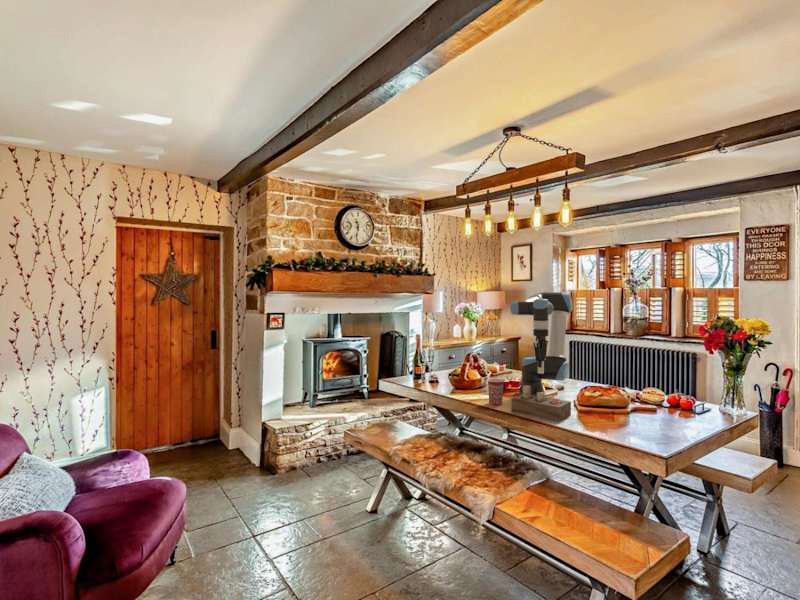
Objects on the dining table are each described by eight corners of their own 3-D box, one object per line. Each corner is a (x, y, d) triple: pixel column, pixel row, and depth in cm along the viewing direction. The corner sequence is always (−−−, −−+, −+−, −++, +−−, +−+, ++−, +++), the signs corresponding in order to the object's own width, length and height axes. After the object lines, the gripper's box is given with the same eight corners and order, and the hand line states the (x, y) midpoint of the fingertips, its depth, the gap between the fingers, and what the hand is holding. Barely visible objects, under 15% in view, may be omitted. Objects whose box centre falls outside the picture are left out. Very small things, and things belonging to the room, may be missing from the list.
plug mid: (538, 407, 235) (538, 391, 235) (546, 408, 232) (546, 392, 232) (535, 409, 232) (535, 393, 232) (542, 410, 229) (542, 394, 229)
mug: (496, 406, 245) (496, 382, 245) (484, 403, 253) (484, 379, 252) (511, 403, 253) (511, 379, 252) (499, 399, 260) (499, 376, 260)
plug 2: (553, 413, 230) (553, 397, 229) (561, 414, 227) (561, 398, 227) (550, 414, 227) (550, 398, 227) (557, 416, 224) (558, 399, 224)
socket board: (523, 406, 246) (523, 393, 246) (570, 415, 229) (570, 401, 229) (511, 411, 236) (511, 398, 236) (559, 421, 218) (559, 407, 218)
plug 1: (524, 400, 240) (524, 385, 240) (531, 401, 238) (531, 386, 237) (521, 402, 237) (521, 386, 237) (528, 403, 235) (528, 387, 234)
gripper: (539, 326, 239) (539, 370, 241) (528, 329, 230) (528, 374, 231) (552, 327, 234) (552, 372, 236) (542, 330, 225) (542, 376, 226)
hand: (540, 373), depth 233 cm, fingers closed
